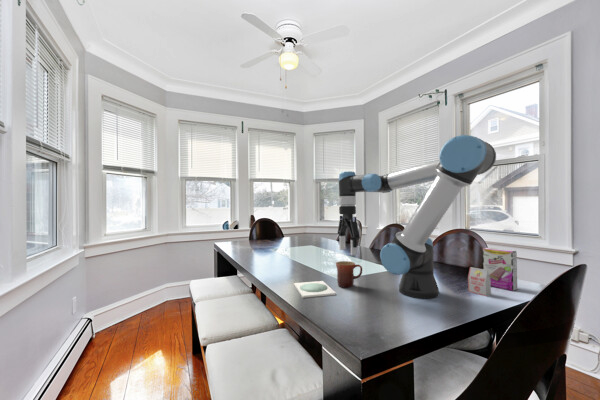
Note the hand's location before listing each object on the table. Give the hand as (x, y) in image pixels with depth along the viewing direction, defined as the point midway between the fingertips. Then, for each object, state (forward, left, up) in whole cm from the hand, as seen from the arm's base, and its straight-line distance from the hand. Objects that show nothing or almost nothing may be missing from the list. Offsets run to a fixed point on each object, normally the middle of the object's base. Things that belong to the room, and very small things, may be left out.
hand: (348, 252), depth 121 cm
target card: (-1, +17, -15) cm, 23 cm away
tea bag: (-23, -47, -16) cm, 55 cm away
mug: (0, 0, -15) cm, 15 cm away
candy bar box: (-19, -62, -15) cm, 67 cm away
